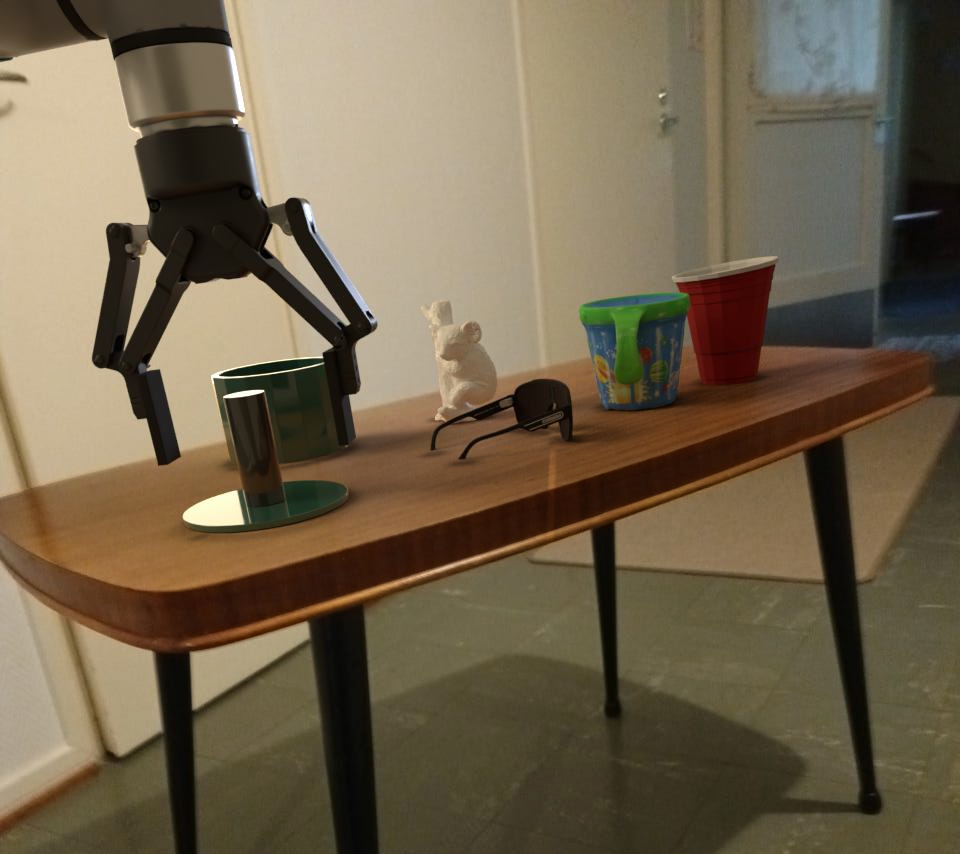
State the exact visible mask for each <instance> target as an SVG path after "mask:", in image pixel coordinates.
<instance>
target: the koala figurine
mask: <svg viewBox="0 0 960 854" xmlns="http://www.w3.org/2000/svg"><path fill="white" fill-rule="evenodd" d="M420 312H421V313H422V315H423V316H424V317H425V318H426V319H427V321H429V323H431V324H430V325H429V326H428V327H429V329H430V332H431V338H432V340H433V341H434V348H435V351H434V354H435V356H434V357H435V362H436V363H437V367H438V372H437V373H438V379H439V393H440V397H441V402H442V406H440V407H439V408H437V413H436V415H435V417H434V420H435V421H443V422H444V423H445V422H447V421H449V420H451V419H453V418H455V417H457V416H460V415H462V414H464V413H467V412H469V411H472V410H474V409H477V408H479V407H478V406H480V405H484V404H485V403H486V404H487V403H488V402H490V401H492V399H493V398H494V396H495V394H496V392H497V389H498V375H497V374H498V373H497V369H496V366H495V363H494V361H493V360H492V359H491V356H490V355H489V353H488V352H487V350H486V349H485V347H484V345H482V344H481V343H480V341H481V340H482V335H483V334H482V333H483V331H482V329H481V325H480V324H479V323H478V322H477V321H476V320H467V321H466V322H464V323H463V324H460V323H454V319H453V308H452V304H451V301H450V300H449V298H445V299H441V300H438V301H434V302H432V304H431V305H430V306H429V305H428V304H423V305H422V306H421V307H420ZM475 421H478V420H477V419H474V418H472V417H467V418H464V419H462V420H459V421H457V422H455V423H452V424H451V425H455V424H459V423H465V422H475Z"/></svg>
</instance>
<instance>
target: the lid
mask: <svg viewBox="0 0 960 854" xmlns="http://www.w3.org/2000/svg"><path fill="white" fill-rule="evenodd" d="M223 399H224V404H225V408H226V413H227V418H228V422H229V427H230V432H231V436H232V441H233V446H234V450H235V455H236V460H237V464H238V465H237V469H238V473H239V477H240V482H241V487H242V488H241V489H236V490H233V491H228V492H225V493H222V494H219V495H216V496H215V495H214V496H212V497H210V498H207V499H205V500H202V501H200V502H198V503H196V504H194V505H192V506H191V507H188V508H187V509H186V510H185V511H184V513H183V514H182V522H183V524H184V526H185V527H186V528H188V529H190V530H193V531H195V532H196V531H197V532H201V533H202V532H203V533H219V534H220V533H221V534H223V533H242V532H251V531H258V530H265V529H270V528H277V527H282V526H286V525H290V524H295V523H299V522H303V521H306V520H309V519H313V518H316V517H319V516H322V515H324V514H327V513H329V512H332V511H333V510H336V509H337V508H339V507H341V506H342V505H343V504H345V503H346V502H347V501H348V499H349V497H350V492H349V488H348V487H347V486H346V485H345V484H343V483H340V482H338V481H337V482H336V481H331V480H322V479H321V480H320V479H319V480H318V479H310V480H309V479H307V480H306V479H305V480H304V479H303V480H289V481H284V480H283V475H282V470H281V464H279V460H278V454H277V449H276V444H275V439H274V434H273V429H272V424H271V419H270V414H269V409H268V404H267V399H266V394H265V391H264V390H251V391H244V392H238V393H233V394H229V395H226V396H224V397H223Z"/></svg>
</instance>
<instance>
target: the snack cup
mask: <svg viewBox="0 0 960 854" xmlns="http://www.w3.org/2000/svg"><path fill="white" fill-rule="evenodd" d="M578 309H579V312H578V313H579V320H580V323H581V324H582V326H583V327H584V330H585V332H586V339H587V340H586V341H587V345H588V350H589V354H590V355H589V356H590V360H591V365H592V369H593V373H594V378H595V383H596V388H597V392H598V396H599V398H600V402H601V404H602V405H603V407H604V409H605V410H606V411H611V410H615V411H617V412H618V411H619V412H633V411H634V412H635V411H643V410H652V409H658V408H661V407H665V406H669V405H671V404H673V402H674V401H675V400H676V398H677V395H678V389H679V381H680V372H681V364H682V356H683V349H684V348H683V346H684V339H685V327H686V326H685V325H686V320H687V315H688V311H689V309H690V299H689V294H686V293H680V292H653V293H642V294H633V295H624V296H617V297H609V298H603V299H598V300H593V301H589V302H585V303H583V304H581V305H580V306H579V308H578Z"/></svg>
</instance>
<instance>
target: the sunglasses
mask: <svg viewBox="0 0 960 854" xmlns="http://www.w3.org/2000/svg"><path fill="white" fill-rule="evenodd" d="M554 405H555V408H554ZM511 408H513V411H514V412H513V413H514V415H515V419H516V422H517V423H516V424H513V425H511V426H508V427H505V428H502V429H499V430H496V431H494V432H491V433H487V434H484V435H481V436H478V437H476V438H474V439H473V440H471V441H470V442H469V443H468V444H467V446H466V447H465V448H464V449H463V451H462V453H461V454H460V455H459V457H457V458H458V459H457V460H466V459H467V455H468V454H469V452H470V450H471V449H472V448H473V447H474V446H475V445H476V444H478V443H480V442H481V441H484V440H488V439H491V438H495V437H498V436H502V435H504V434H507V433H510V432H513V431H516V430H519V429H521V430H524V431H527V432H529V433H532V432H533V433H534V432H536V431H539V430H547V429H549V426H551V425H554V424H557V423H558V426H559V431H560V436H561V438H562V440H564V441H567V442H570V441H572V439H573V432H574V428H573V427H574V415H573V402H572V395H571V390H570V388H569V387H568V385H567V384H566V383H564V382H563V381H561V380H558V379H555V378H534V379H532V380H530V381H527V382H523V383H521V384H520V385H518V386H517V387H516V388H515V389H514V392H513V393H511V394H508V395H506V396H504V397H501V398H499V399H496V400H493V401H492V402H489V403H486V404H483V405H482V406H479V407H478V408H477V409H474V410H472V411H469V412H467V413H464V414H462V415H460V416H457V417H455V418H453V419H451V420H449V421H447V422H445V421H444V422H443V423H441V424H439V425H438V426H437V427H436V428H435V429H434V431H433V433H432V436H431V440H430V451H432V452H433V451H435V450H436V442H437V438H438V437H437V436H438V434H439V433H440V432H441V430H443V429H444V428H447V427H448V426H450V425H453V424H452V423H455V422H457V421H459V420H462V419H464V418H467V417H472V418H474V419H477V420H476V421H482V420H484V419H487V418H489V417H492V416H494V415H496V414H499V413H501V412H503V411H506V410H509V409H511ZM455 424H456V423H455Z"/></svg>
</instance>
